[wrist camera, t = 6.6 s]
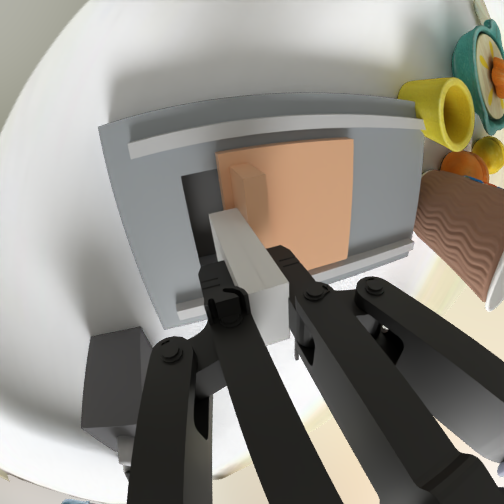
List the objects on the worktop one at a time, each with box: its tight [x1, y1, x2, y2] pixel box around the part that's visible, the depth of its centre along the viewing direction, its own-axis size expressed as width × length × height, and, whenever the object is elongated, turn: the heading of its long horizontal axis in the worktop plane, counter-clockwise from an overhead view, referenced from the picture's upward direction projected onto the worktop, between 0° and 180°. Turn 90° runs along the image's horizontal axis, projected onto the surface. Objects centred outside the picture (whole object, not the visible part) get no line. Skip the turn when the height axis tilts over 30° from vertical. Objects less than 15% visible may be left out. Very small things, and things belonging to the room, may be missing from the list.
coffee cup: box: [413, 170, 504, 311], centre depth 18 cm, size 10×10×12 cm
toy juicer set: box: [398, 0, 504, 183], centre depth 15 cm, size 29×18×8 cm, turn 138°
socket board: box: [98, 93, 426, 330], centre depth 17 cm, size 22×14×3 cm, turn 96°
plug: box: [81, 327, 153, 466], centre depth 17 cm, size 5×5×11 cm
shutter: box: [215, 137, 354, 270], centre depth 15 cm, size 8×8×3 cm
